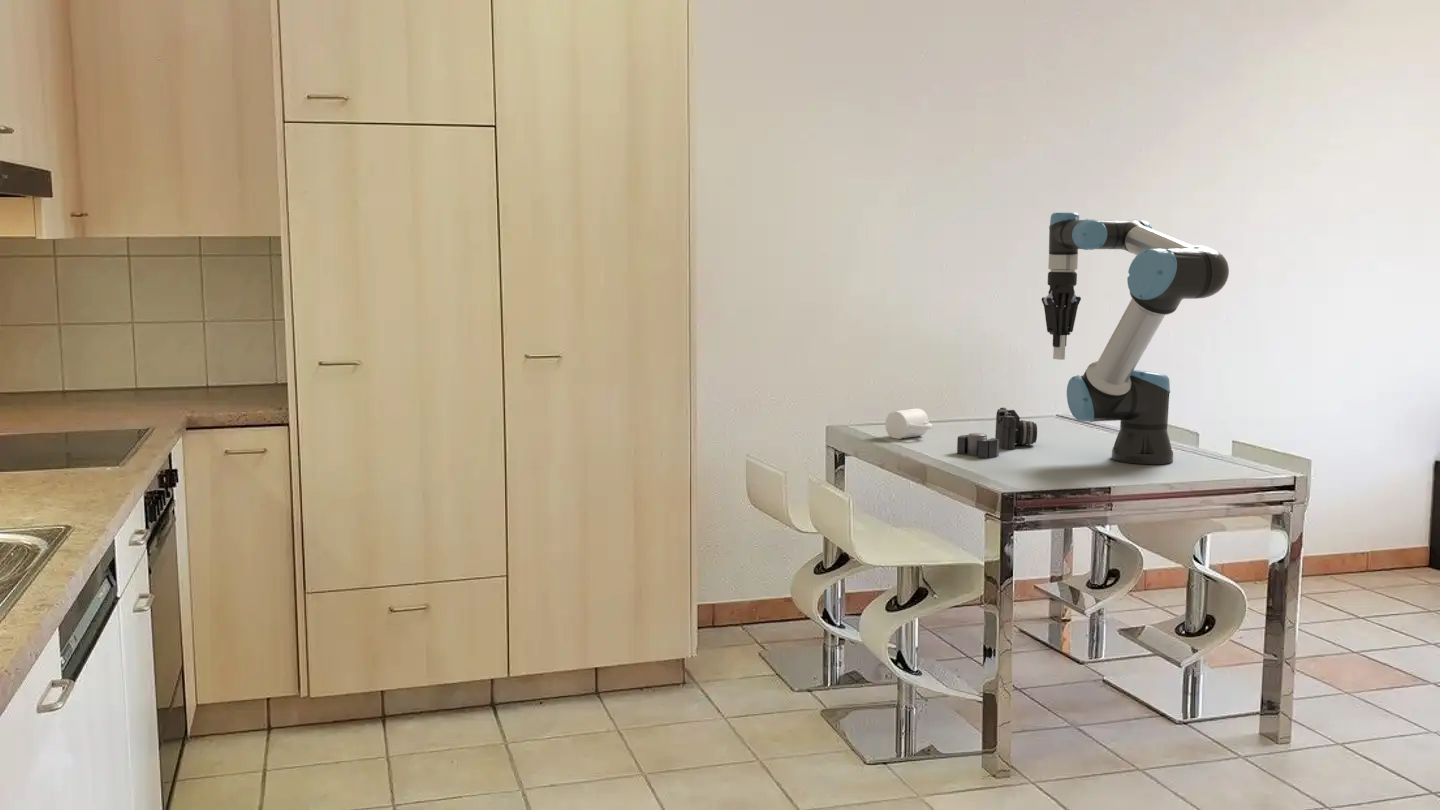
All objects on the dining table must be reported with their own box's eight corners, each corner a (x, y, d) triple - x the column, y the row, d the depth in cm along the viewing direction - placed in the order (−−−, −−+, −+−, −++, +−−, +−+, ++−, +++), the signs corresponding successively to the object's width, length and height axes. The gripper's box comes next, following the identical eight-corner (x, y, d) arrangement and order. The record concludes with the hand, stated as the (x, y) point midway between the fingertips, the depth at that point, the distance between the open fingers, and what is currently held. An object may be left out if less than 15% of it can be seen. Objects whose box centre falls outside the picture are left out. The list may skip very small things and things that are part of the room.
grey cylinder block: (990, 454, 349) (991, 434, 348) (977, 456, 346) (977, 436, 345) (976, 452, 353) (977, 432, 352) (963, 454, 350) (963, 434, 349)
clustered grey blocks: (1002, 456, 347) (1003, 439, 346) (981, 458, 343) (982, 441, 342) (972, 450, 356) (973, 433, 355) (952, 452, 352) (952, 436, 351)
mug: (884, 437, 377) (885, 409, 376) (907, 434, 384) (908, 406, 383) (917, 442, 368) (917, 414, 367) (940, 439, 375) (940, 411, 374)
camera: (1041, 450, 357) (1042, 414, 356) (1000, 450, 357) (1001, 413, 356) (1030, 442, 371) (1031, 406, 370) (991, 441, 371) (992, 406, 370)
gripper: (1068, 270, 360) (1064, 356, 363) (1034, 270, 353) (1031, 359, 356) (1090, 271, 354) (1086, 359, 357) (1056, 271, 347) (1052, 361, 350)
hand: (1058, 359), depth 356 cm, fingers closed
